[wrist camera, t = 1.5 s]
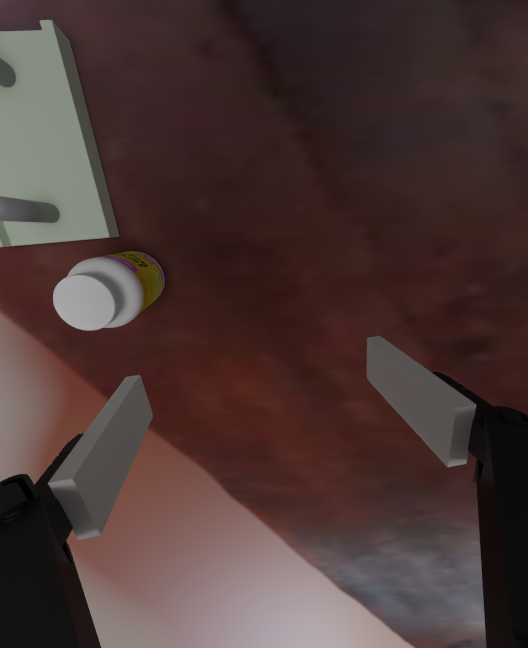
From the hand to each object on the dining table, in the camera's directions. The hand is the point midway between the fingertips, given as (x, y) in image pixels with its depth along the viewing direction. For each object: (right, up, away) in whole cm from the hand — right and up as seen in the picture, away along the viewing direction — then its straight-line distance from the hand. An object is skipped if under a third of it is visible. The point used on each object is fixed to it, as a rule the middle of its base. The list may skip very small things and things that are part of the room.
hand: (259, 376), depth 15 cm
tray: (-24, +21, +13) cm, 34 cm away
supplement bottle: (-16, +9, +18) cm, 26 cm away
